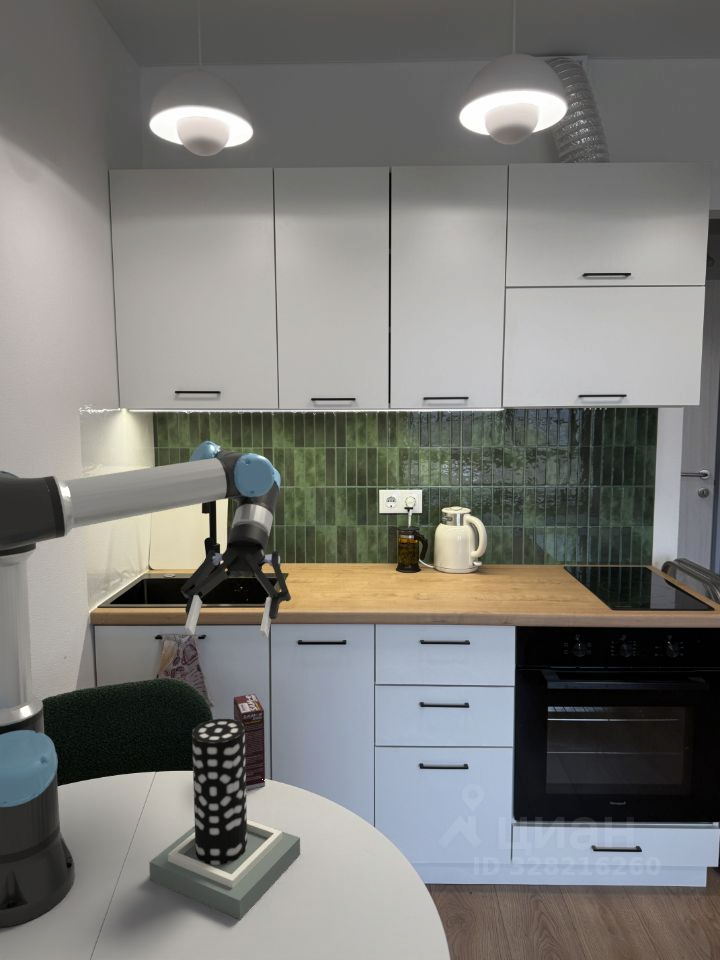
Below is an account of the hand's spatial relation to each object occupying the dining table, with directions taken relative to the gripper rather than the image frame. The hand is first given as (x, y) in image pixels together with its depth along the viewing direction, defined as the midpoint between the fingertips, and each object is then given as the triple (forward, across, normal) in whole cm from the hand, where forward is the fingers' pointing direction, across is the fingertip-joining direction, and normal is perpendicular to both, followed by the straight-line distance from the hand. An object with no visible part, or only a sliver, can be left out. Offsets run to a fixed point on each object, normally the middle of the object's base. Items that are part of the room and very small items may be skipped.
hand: (226, 633), depth 113 cm
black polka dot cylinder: (+30, -2, -16) cm, 34 cm away
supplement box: (+14, +2, -36) cm, 39 cm away
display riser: (+33, -3, -18) cm, 37 cm away
